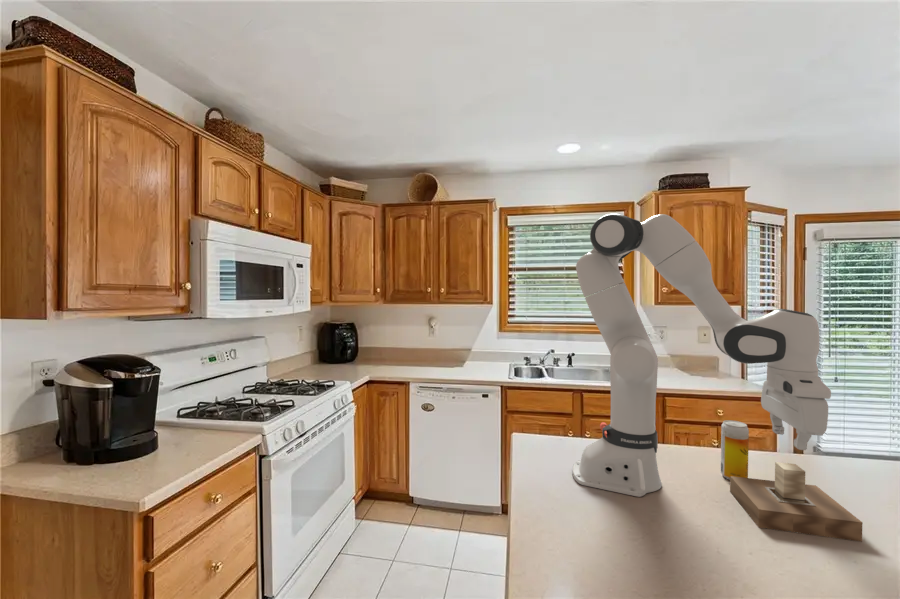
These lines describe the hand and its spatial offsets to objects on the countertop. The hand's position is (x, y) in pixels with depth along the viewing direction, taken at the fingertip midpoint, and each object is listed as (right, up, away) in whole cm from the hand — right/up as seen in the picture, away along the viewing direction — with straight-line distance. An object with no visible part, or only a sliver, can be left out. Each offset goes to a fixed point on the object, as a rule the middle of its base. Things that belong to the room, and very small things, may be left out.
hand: (788, 440), depth 92 cm
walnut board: (0, -17, 0) cm, 17 cm away
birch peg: (0, -17, 0) cm, 17 cm away
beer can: (0, -17, +18) cm, 25 cm away
